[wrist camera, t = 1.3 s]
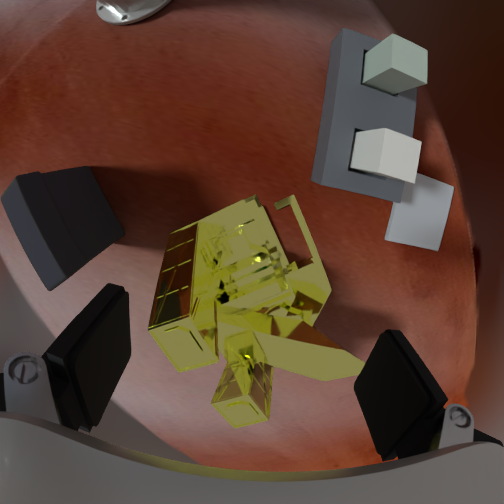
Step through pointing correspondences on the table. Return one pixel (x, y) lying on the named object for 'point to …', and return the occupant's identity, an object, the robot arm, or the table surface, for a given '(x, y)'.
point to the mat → (420, 213)
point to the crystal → (244, 308)
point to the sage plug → (394, 66)
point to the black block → (60, 221)
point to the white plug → (385, 154)
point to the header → (357, 119)
